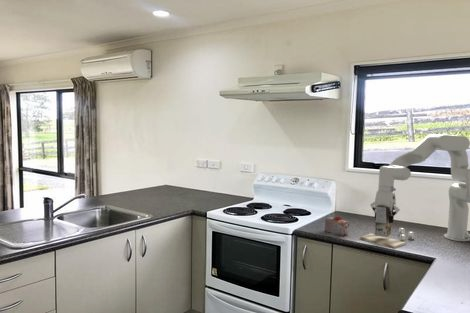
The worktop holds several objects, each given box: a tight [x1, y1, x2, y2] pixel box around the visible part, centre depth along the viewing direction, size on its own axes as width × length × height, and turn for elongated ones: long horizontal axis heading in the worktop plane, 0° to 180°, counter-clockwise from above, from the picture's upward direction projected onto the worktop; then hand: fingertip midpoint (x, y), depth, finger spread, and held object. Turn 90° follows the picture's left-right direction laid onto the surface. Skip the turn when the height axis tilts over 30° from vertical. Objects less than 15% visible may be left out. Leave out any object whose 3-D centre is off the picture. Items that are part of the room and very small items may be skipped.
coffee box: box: [374, 205, 393, 237], centre depth 210 cm, size 9×6×16 cm
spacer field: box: [398, 227, 415, 243], centre depth 220 cm, size 17×16×4 cm
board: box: [359, 233, 407, 249], centre depth 211 cm, size 20×12×1 cm, turn 40°
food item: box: [324, 216, 350, 237], centre depth 224 cm, size 14×8×10 cm, turn 41°
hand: (383, 221), depth 210 cm, fingers closed on coffee box, 7 cm apart
